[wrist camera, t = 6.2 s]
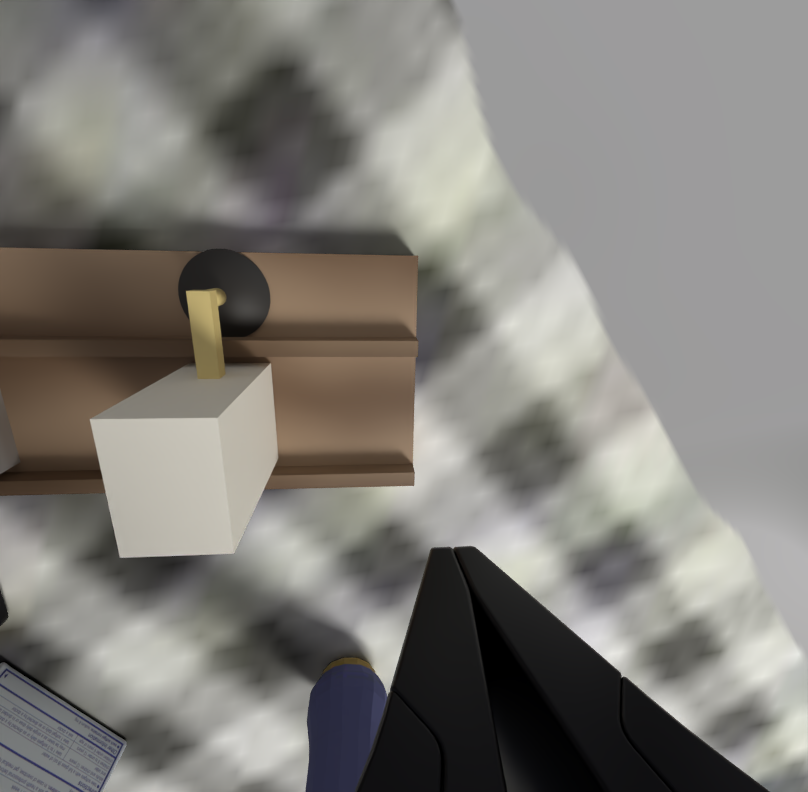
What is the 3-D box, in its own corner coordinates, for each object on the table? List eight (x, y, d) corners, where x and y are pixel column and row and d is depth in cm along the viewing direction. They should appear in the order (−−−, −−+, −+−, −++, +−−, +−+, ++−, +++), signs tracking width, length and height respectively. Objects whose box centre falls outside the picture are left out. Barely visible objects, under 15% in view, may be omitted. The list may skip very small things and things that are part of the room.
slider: (278, 458, 17) (234, 553, 12) (202, 459, 17) (120, 557, 11) (264, 287, 15) (203, 302, 10) (178, 286, 15) (63, 301, 9)
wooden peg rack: (409, 463, 19) (432, 574, 12) (-66, 473, 18) (-340, 606, 11) (414, 253, 17) (446, 247, 10) (-147, 242, 15) (-581, 225, 8)
